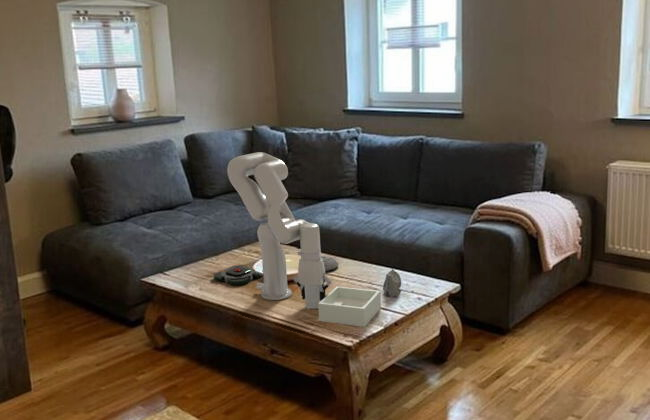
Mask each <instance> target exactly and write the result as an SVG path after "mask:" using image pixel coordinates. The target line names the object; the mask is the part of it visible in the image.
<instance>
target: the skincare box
mask: <svg viewBox="0 0 650 420" xmlns="http://www.w3.org/2000/svg"><path fill="white" fill-rule="evenodd" d="M304 287H305V299H304V300H305V309H306V310H307V309H309V310H310V309H319V307H318V303H319V302H320V291H321V290H320V288H319V286H311V285H305V284H304Z"/></svg>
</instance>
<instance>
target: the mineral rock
mask: <svg viewBox="0 0 650 420" xmlns="http://www.w3.org/2000/svg"><path fill="white" fill-rule="evenodd" d="M401 286H402V279H401V276H400V274H399V273H398V272H397V271H395V269H393V268H391V270H390V271H388V272H387V274H386V275H385V279H384V282H383V286H382V291H383V292H384V295H385V296H386V297H391V298H394V297H398V296H400V288H401Z"/></svg>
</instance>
